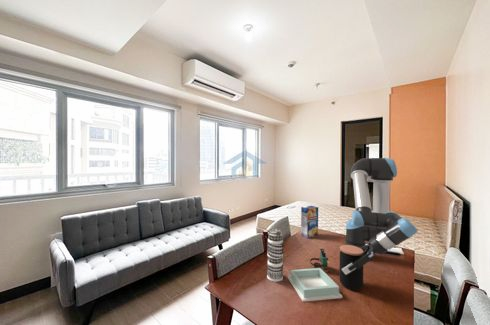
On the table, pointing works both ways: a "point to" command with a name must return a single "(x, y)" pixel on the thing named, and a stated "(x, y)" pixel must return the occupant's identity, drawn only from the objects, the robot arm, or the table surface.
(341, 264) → the coffee jar
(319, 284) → the pocket tray
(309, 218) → the juice carton
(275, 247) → the decorative candle
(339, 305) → the table surface
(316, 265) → the binoculars
